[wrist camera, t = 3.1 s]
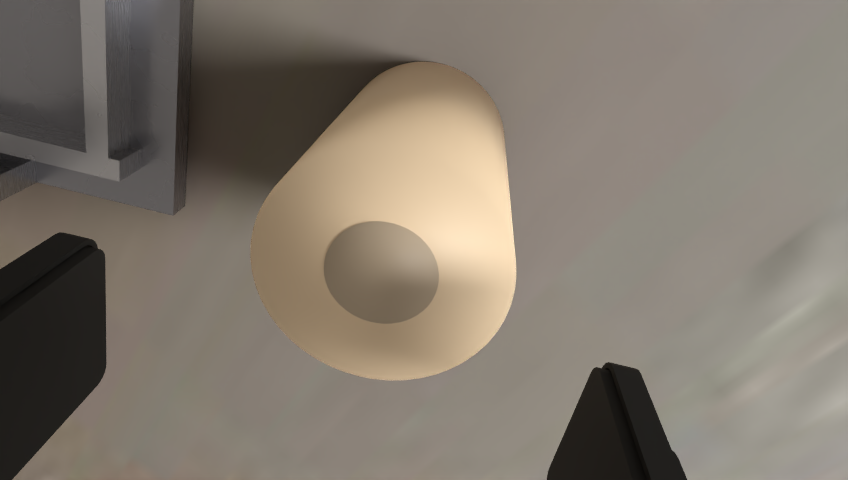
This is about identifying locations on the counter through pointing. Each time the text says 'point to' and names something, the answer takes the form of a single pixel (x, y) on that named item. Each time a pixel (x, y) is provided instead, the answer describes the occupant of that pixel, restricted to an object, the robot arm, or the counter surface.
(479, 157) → the paper roll
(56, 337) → the robot arm
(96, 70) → the stand
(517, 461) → the counter surface
